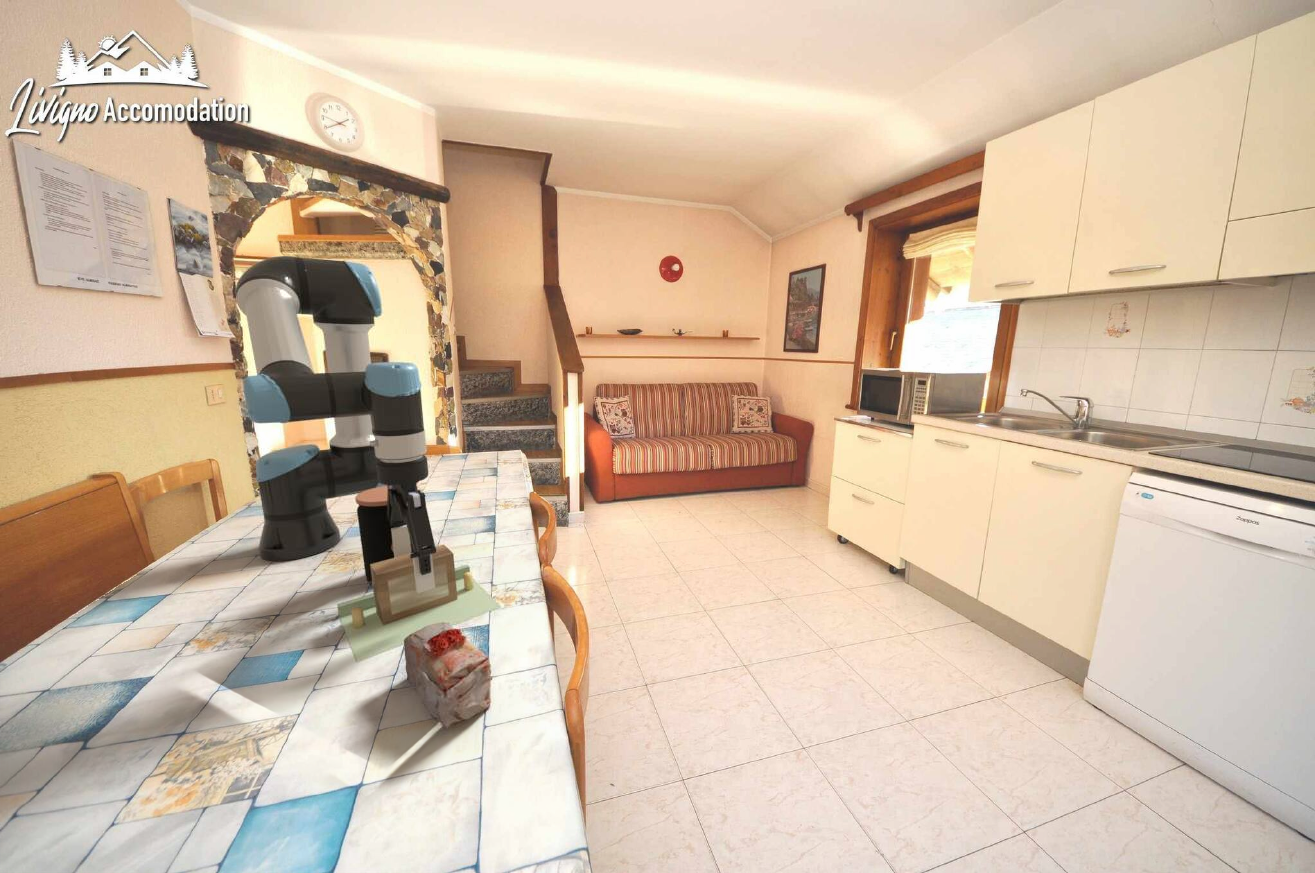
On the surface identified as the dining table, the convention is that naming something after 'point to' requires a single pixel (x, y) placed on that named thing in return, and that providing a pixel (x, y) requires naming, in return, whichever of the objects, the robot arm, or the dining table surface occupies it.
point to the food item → (448, 673)
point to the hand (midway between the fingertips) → (414, 574)
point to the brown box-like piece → (411, 586)
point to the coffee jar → (375, 528)
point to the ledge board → (409, 617)
